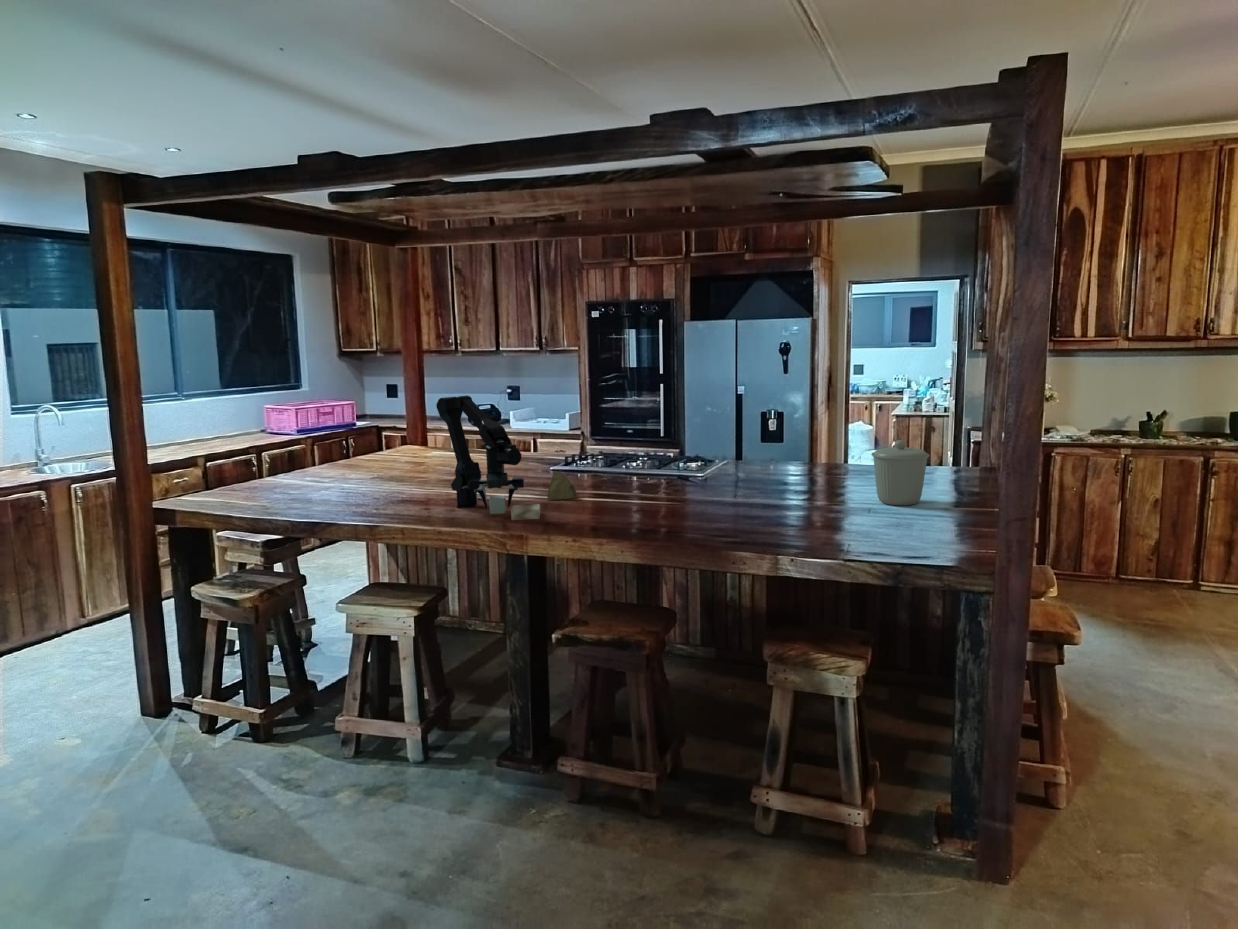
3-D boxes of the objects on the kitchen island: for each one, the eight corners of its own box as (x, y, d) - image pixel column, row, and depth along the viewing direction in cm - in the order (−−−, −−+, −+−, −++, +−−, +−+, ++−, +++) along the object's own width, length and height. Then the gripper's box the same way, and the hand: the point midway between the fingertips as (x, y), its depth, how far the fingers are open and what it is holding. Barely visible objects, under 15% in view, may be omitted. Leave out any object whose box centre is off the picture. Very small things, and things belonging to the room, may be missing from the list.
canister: (932, 509, 259) (934, 443, 256) (873, 508, 263) (874, 444, 259) (923, 497, 276) (924, 436, 273) (867, 497, 280) (869, 436, 277)
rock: (583, 489, 297) (559, 484, 301) (579, 474, 291) (554, 469, 295) (571, 511, 291) (547, 506, 295) (566, 496, 285) (541, 491, 289)
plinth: (511, 520, 262) (511, 510, 261) (513, 514, 271) (513, 505, 270) (539, 518, 262) (539, 509, 262) (540, 512, 271) (540, 504, 271)
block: (490, 514, 272) (489, 499, 271) (491, 510, 277) (490, 496, 276) (504, 513, 273) (504, 498, 272) (506, 510, 277) (505, 496, 277)
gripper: (464, 467, 264) (467, 514, 266) (521, 465, 265) (524, 512, 267) (468, 462, 275) (471, 507, 277) (523, 460, 276) (525, 505, 278)
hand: (497, 508), depth 275 cm, fingers open, 7 cm apart
